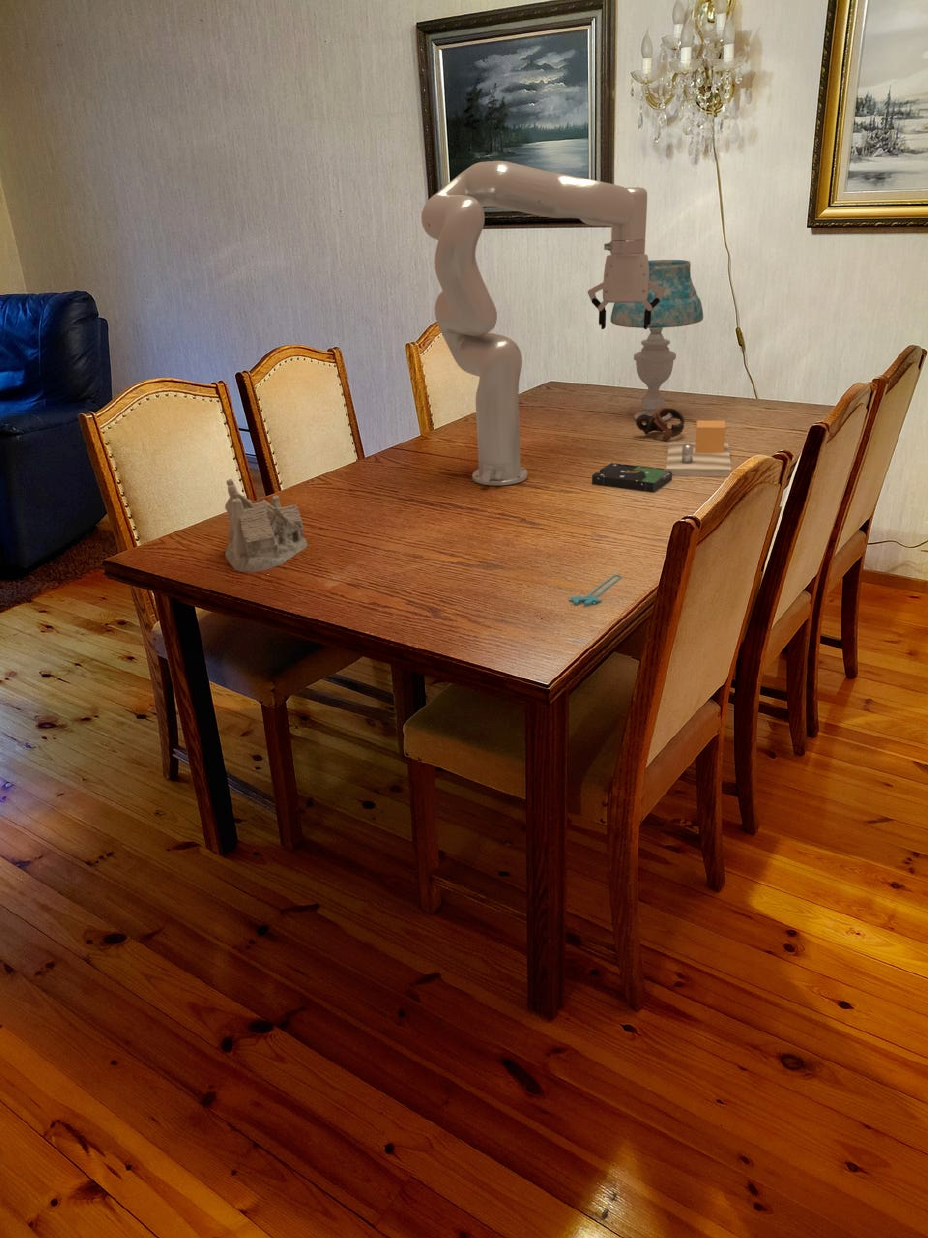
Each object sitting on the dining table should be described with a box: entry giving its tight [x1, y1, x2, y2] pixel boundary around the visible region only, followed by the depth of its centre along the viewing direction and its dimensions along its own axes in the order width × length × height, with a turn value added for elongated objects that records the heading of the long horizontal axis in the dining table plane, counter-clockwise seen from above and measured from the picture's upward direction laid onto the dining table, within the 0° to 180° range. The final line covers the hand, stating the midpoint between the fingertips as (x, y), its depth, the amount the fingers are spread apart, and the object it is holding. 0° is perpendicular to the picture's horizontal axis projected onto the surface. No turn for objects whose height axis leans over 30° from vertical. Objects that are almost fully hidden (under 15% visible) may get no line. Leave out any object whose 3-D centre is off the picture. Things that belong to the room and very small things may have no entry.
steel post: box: [682, 444, 694, 464], centre depth 207 cm, size 2×2×4 cm
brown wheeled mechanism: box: [635, 407, 686, 442], centre depth 233 cm, size 12×10×8 cm
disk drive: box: [591, 462, 673, 494], centre depth 202 cm, size 10×3×15 cm
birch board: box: [665, 442, 732, 478], centre depth 213 cm, size 22×14×2 cm, turn 167°
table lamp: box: [610, 259, 704, 423], centre depth 243 cm, size 24×24×40 cm
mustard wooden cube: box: [695, 420, 726, 453], centre depth 215 cm, size 6×6×6 cm
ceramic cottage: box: [224, 478, 308, 573], centre depth 172 cm, size 16×16×15 cm
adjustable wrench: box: [568, 574, 623, 607], centre depth 151 cm, size 14×1×5 cm
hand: (624, 328), depth 212 cm, fingers open, 9 cm apart
